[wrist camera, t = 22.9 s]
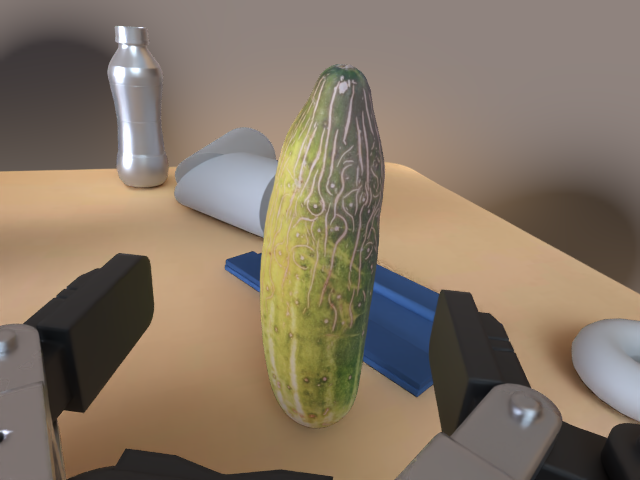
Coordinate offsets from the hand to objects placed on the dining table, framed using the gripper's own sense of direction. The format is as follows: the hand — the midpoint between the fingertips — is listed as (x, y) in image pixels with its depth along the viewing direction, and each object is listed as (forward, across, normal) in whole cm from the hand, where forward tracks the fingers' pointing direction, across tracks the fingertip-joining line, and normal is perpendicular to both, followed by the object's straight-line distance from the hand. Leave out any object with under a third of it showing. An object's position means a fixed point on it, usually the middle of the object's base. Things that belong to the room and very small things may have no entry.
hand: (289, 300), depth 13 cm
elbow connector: (+43, +12, +15) cm, 47 cm away
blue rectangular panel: (+25, -2, +14) cm, 29 cm away
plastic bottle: (+48, +27, +15) cm, 57 cm away
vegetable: (+11, 0, +15) cm, 18 cm away
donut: (+16, -23, +15) cm, 32 cm away
